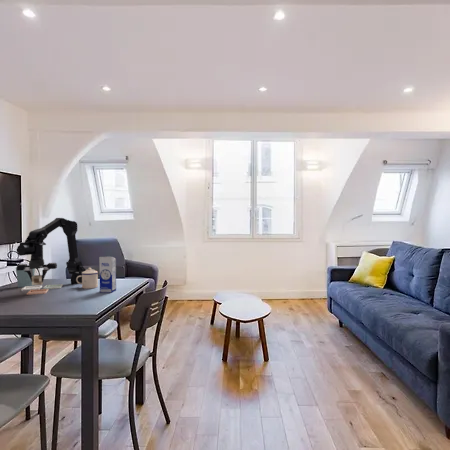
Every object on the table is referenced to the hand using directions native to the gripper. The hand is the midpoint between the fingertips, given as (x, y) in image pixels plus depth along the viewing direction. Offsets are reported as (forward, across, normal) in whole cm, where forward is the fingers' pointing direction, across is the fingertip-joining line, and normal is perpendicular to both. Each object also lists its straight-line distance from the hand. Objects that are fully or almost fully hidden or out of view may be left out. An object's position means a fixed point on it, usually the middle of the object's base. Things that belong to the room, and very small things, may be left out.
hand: (37, 282), depth 187 cm
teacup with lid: (+6, +25, +9) cm, 27 cm away
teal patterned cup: (+6, -11, +25) cm, 28 cm away
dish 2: (+6, 0, 0) cm, 6 cm away
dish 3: (+6, +6, +13) cm, 16 cm away
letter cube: (+1, 0, 0) cm, 1 cm away
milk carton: (+6, +37, -7) cm, 38 cm away
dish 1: (+6, -5, +13) cm, 15 cm away
